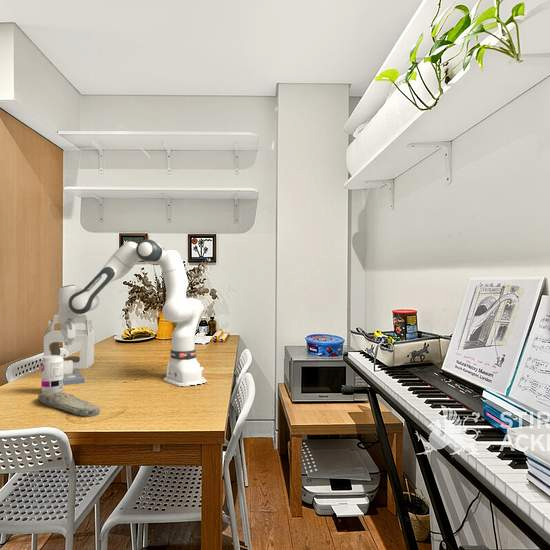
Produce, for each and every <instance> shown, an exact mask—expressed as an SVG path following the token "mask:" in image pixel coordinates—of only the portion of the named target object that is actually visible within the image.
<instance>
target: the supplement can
mask: <svg viewBox="0 0 550 550" xmlns="http://www.w3.org/2000/svg"><path fill="white" fill-rule="evenodd" d="M63 358H64V357H63V356H62V355H61V354H60V355H50V356H45V357H44V356H43V358H42V360H41V393H44V392H56V393H62V391H63V390H64V385H63V369H64V359H63Z"/></svg>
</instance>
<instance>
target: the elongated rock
mask: <svg viewBox="0 0 550 550" xmlns="http://www.w3.org/2000/svg"><path fill="white" fill-rule="evenodd" d="M37 401H38V402H41V404H43V405H46V406H47V407H49V408H55V409H58V410H59V409H61V410H63V411H64V412H68V413H71V414H73V415H76V416H80V417H88V418H89V417H96V416H99V415H100V413H101V409H100V407H99V405H97V404H95V403H91V402H89V401H86V400H83V399H80V398H78V397H76V395H74V394H72V393H71V394H70V393H65V392H59V393H56V392H44V393H43V392H41V393H39V394H38V395H37Z"/></svg>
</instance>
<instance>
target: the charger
mask: <svg viewBox="0 0 550 550" xmlns="http://www.w3.org/2000/svg"><path fill="white" fill-rule="evenodd" d="M71 373H73V361H72V360H69V361H64V369H63V374H71Z"/></svg>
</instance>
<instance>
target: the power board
mask: <svg viewBox="0 0 550 550" xmlns="http://www.w3.org/2000/svg"><path fill="white" fill-rule="evenodd" d="M75 384H85V377H84V376H83V375H82V373H81V372H80V371H79V369H73V373H71V374H63V386H68V385H75Z"/></svg>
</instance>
